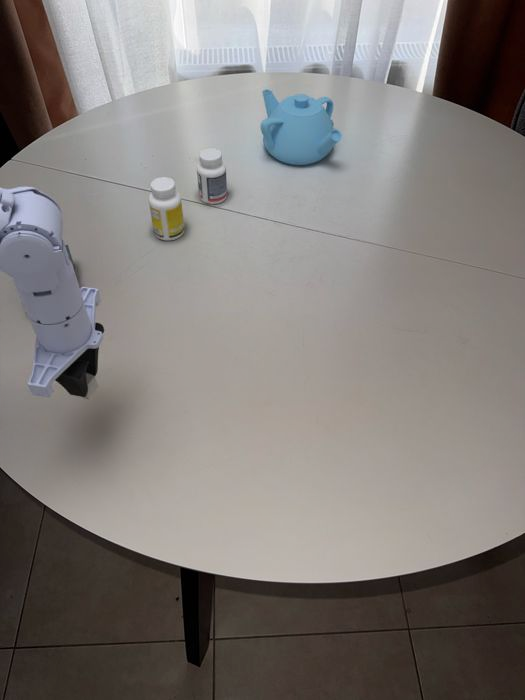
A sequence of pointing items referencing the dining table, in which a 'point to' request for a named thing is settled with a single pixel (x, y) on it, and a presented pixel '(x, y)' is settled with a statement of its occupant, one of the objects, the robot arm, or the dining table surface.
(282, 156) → the teapot
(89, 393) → the cube with brown bumps
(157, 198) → the supplement bottle
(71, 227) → the dining table surface
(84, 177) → the dining table surface
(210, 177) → the pill bottle
